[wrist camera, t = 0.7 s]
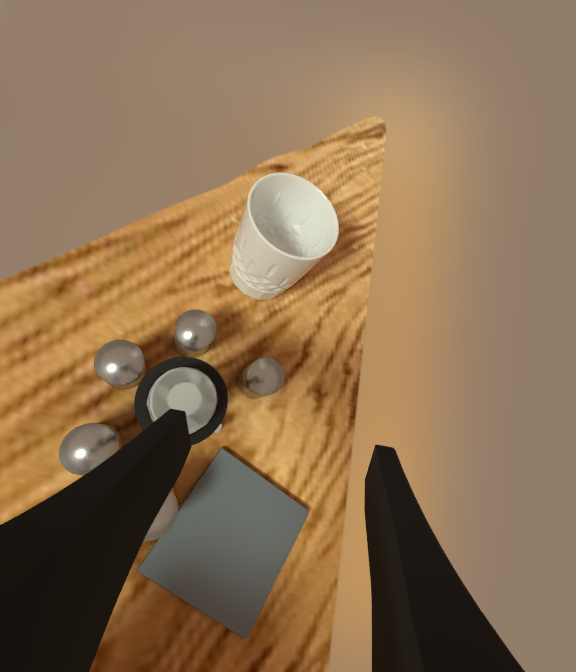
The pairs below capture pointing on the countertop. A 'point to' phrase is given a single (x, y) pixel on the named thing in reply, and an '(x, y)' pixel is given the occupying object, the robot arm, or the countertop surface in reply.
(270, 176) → the white cup
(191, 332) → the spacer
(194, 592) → the mat
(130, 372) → the cylinder
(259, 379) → the cylinder
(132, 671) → the countertop surface
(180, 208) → the countertop surface
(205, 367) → the push button
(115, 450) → the cylinder
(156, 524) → the cylinder
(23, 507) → the countertop surface
